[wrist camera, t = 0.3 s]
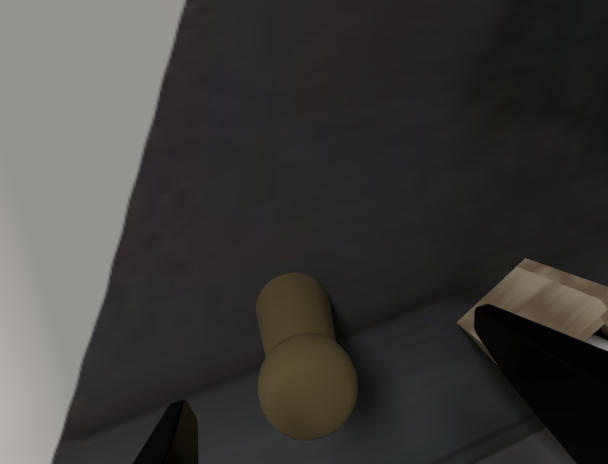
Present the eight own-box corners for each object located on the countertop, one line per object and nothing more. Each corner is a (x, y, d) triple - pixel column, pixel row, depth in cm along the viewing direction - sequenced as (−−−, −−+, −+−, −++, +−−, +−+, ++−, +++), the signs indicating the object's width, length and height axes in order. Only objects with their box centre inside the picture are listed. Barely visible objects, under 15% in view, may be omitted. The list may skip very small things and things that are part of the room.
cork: (332, 272, 25) (380, 349, 15) (327, 341, 27) (369, 459, 16) (256, 272, 25) (248, 351, 14) (254, 343, 26) (246, 467, 15)
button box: (593, 466, 33) (678, 544, 26) (456, 322, 28) (518, 373, 21) (652, 414, 32) (755, 480, 26) (525, 258, 27) (612, 288, 20)
